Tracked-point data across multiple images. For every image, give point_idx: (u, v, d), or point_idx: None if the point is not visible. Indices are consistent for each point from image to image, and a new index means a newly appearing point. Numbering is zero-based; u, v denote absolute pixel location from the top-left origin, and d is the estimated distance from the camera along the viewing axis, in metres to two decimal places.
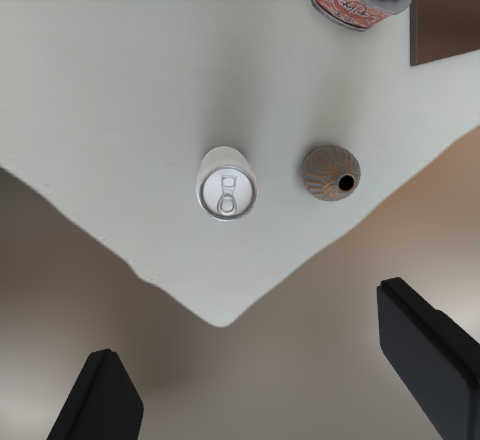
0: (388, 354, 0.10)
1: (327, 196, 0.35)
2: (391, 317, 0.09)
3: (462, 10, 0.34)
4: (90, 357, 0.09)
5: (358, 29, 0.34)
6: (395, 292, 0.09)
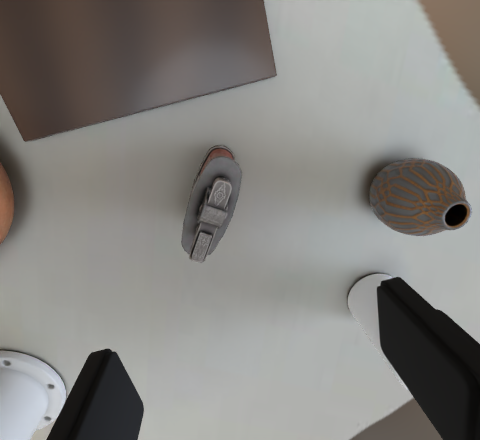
0: (388, 354, 0.10)
1: None
2: (391, 317, 0.09)
3: (206, 13, 0.22)
4: (90, 357, 0.09)
5: None
6: (395, 292, 0.09)
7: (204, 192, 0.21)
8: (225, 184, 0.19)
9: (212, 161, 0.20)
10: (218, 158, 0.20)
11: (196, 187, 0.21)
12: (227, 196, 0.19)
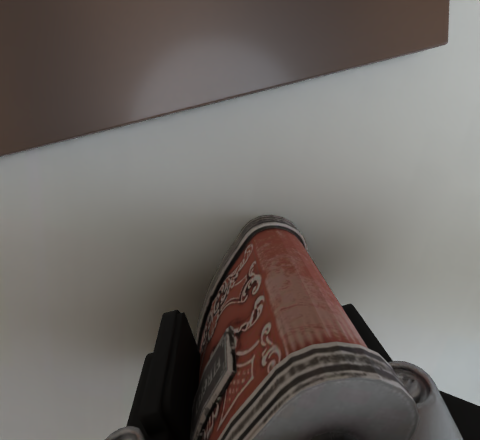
0: None
1: None
2: None
3: None
4: (164, 316, 0.10)
5: None
6: None
7: None
8: None
9: (306, 392, 0.05)
10: (334, 380, 0.05)
11: None
12: None
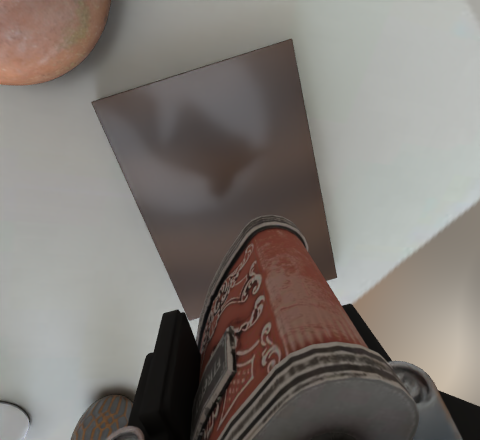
0: None
1: None
2: None
3: None
4: (164, 316, 0.10)
5: None
6: None
7: None
8: None
9: (306, 392, 0.05)
10: (333, 380, 0.05)
11: None
12: None
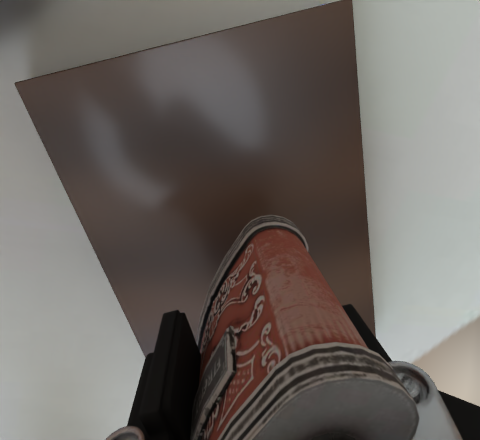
0: None
1: None
2: None
3: None
4: (164, 316, 0.10)
5: None
6: None
7: None
8: None
9: (306, 392, 0.05)
10: (333, 380, 0.05)
11: None
12: None
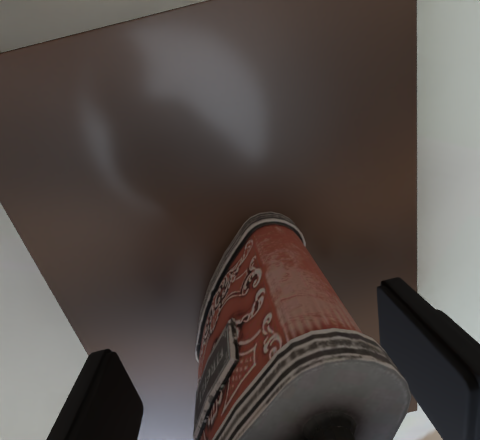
0: (388, 354, 0.10)
1: None
2: (391, 317, 0.09)
3: None
4: (90, 357, 0.09)
5: None
6: (395, 292, 0.09)
7: None
8: None
9: (306, 374, 0.05)
10: (332, 362, 0.05)
11: None
12: None
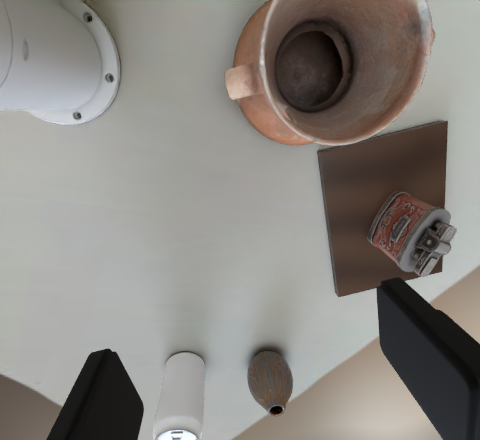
0: (388, 354, 0.10)
1: None
2: (391, 317, 0.09)
3: (372, 262, 0.42)
4: (90, 357, 0.09)
5: None
6: (395, 292, 0.09)
7: (424, 230, 0.32)
8: (454, 228, 0.30)
9: (434, 211, 0.31)
10: (438, 209, 0.31)
11: (420, 227, 0.32)
12: (453, 236, 0.30)
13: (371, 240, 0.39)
